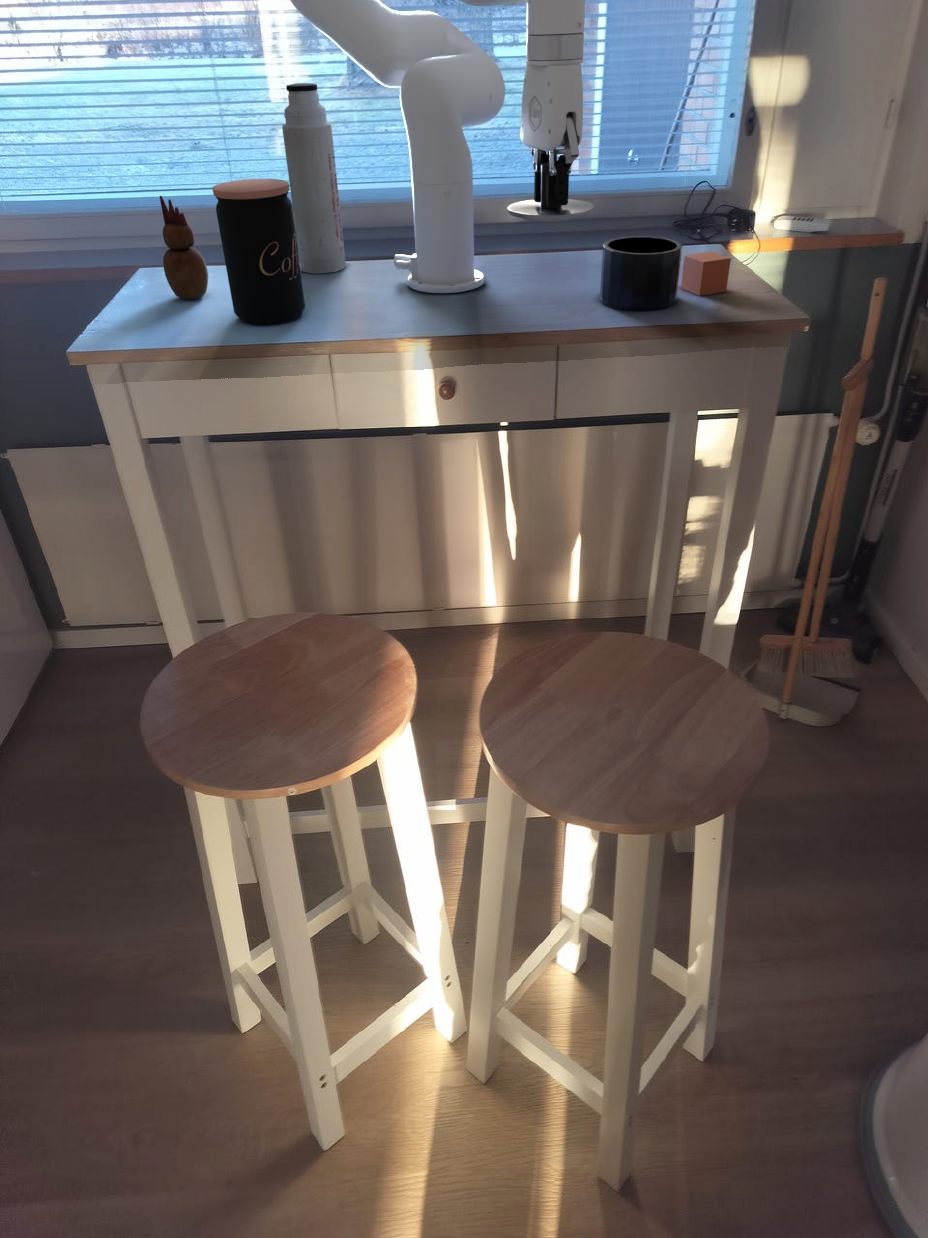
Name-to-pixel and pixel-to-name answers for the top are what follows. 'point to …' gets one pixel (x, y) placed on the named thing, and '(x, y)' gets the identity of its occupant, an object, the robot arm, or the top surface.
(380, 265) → the top surface
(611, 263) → the pot
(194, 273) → the wooden figurine
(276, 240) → the coffee jar
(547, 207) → the lid
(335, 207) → the thermos bottle
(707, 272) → the block
